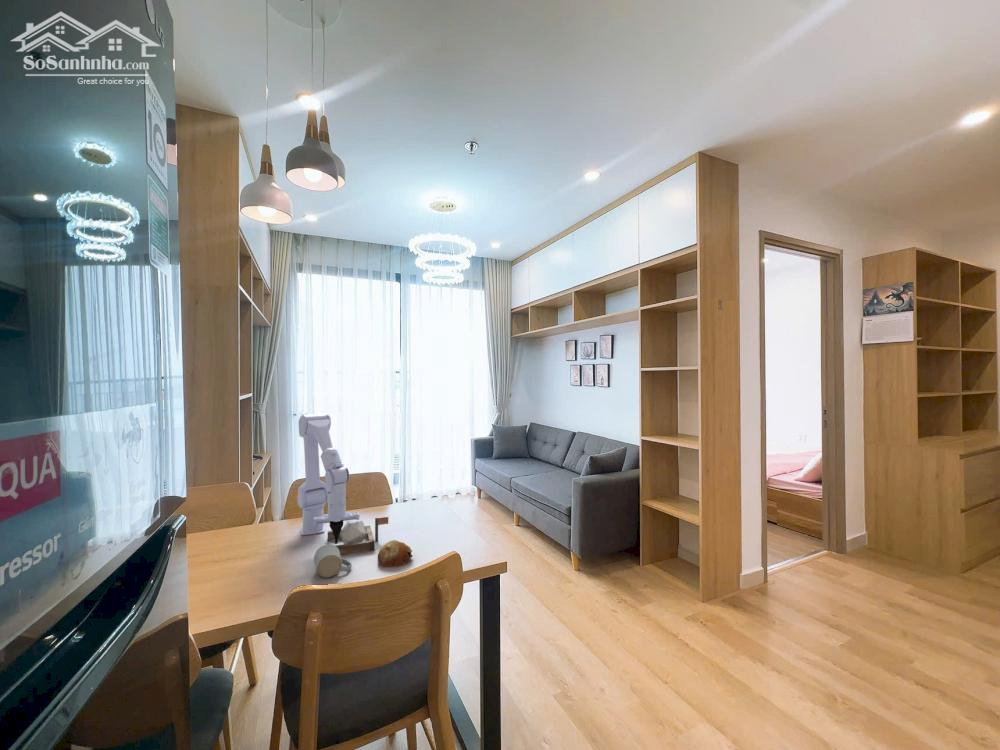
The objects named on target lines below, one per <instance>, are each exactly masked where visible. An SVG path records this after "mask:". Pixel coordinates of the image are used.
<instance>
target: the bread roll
mask: <svg viewBox="0 0 1000 750" xmlns="http://www.w3.org/2000/svg"><path fill="white" fill-rule="evenodd" d="M412 552H413V551H412V549H411V546H409V545H407V544H405V542H403V541H398V540H395V539H393V540H392V539H391V540H389V541H387V542H386V543H385V544H384V545H383V546H382V547H381V548H380V549H379V551H378V554H377V562H378V565H379V566H380V567H382V568H388V569H389V568H397V567H398V568H399V567H403V566H404V565H407V564H408V563H409V562H410V561H411V559H412V558H413V554H412Z"/></svg>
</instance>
